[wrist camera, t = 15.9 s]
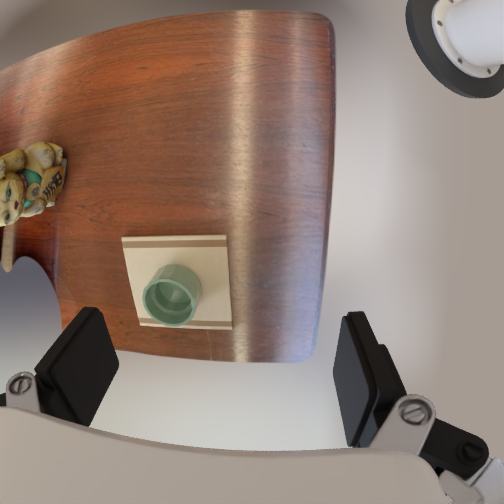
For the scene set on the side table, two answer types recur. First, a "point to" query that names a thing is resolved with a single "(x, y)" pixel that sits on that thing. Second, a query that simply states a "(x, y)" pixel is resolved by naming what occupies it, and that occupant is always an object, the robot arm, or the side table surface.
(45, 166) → the decorative figurine
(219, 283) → the cloth
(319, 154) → the side table surface
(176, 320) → the bowl
